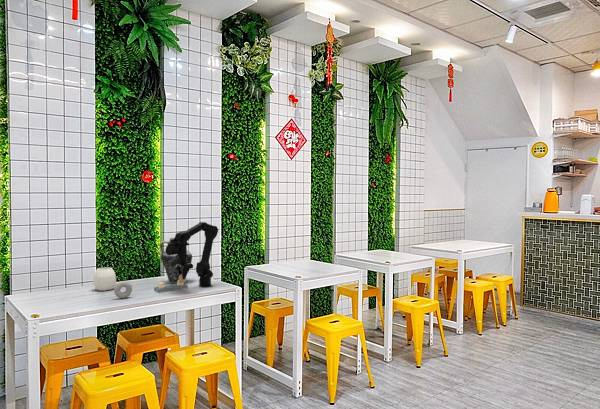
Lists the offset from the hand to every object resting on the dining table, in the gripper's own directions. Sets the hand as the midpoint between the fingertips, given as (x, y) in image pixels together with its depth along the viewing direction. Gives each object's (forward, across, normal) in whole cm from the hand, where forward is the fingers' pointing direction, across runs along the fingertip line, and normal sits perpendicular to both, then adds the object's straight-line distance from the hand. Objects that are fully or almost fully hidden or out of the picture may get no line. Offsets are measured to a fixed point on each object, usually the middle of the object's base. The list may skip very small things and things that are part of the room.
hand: (182, 278), depth 297 cm
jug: (+8, -30, +9) cm, 32 cm away
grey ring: (+8, -6, -34) cm, 35 cm away
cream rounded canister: (+8, -38, -35) cm, 52 cm away
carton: (+8, -10, -3) cm, 13 cm away
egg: (+2, 0, 0) cm, 2 cm away
